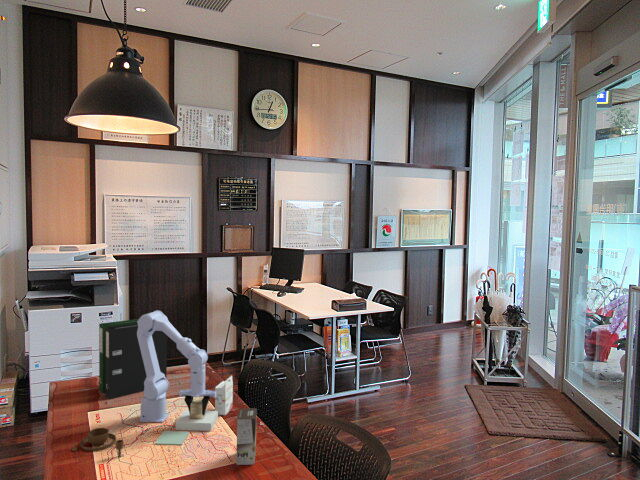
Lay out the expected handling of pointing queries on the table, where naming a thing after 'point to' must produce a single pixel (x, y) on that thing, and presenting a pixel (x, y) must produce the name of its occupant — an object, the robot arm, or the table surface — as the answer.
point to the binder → (125, 358)
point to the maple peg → (196, 410)
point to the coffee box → (246, 436)
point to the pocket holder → (197, 421)
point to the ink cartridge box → (224, 397)
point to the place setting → (100, 440)
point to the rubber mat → (172, 438)
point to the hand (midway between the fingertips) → (197, 413)
